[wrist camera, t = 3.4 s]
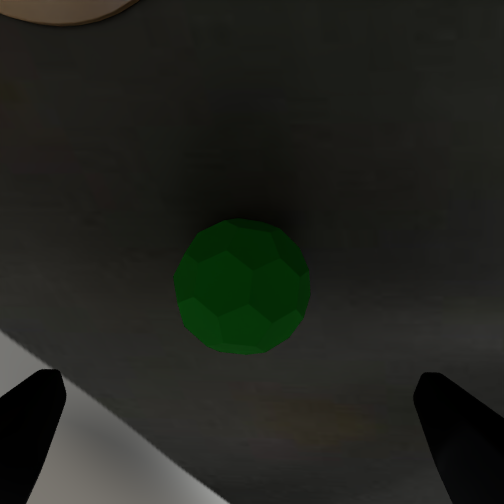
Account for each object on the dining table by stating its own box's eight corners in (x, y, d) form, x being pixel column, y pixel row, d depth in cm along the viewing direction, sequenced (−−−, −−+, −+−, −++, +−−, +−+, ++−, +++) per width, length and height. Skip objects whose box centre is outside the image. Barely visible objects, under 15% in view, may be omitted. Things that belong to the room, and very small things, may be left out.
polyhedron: (214, 180, 13) (204, 227, 8) (318, 232, 14) (355, 296, 10) (167, 277, 15) (138, 355, 10) (262, 316, 16) (272, 400, 12)
